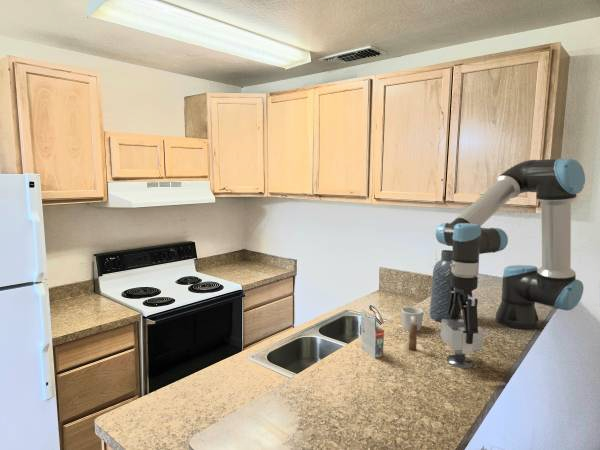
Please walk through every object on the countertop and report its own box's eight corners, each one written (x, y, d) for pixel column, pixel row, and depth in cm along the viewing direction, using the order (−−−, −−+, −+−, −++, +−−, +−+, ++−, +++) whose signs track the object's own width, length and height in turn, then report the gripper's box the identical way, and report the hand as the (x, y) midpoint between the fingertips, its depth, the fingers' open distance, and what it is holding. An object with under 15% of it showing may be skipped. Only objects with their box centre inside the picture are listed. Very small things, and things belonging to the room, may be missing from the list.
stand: (420, 346, 131) (421, 320, 130) (428, 357, 124) (429, 329, 122) (397, 346, 131) (398, 320, 130) (403, 357, 123) (404, 329, 122)
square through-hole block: (468, 337, 122) (469, 319, 121) (482, 349, 113) (483, 330, 113) (440, 337, 122) (441, 319, 121) (452, 349, 113) (453, 330, 112)
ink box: (369, 349, 130) (370, 307, 128) (383, 359, 123) (385, 315, 121) (360, 351, 128) (361, 309, 126) (374, 361, 121) (375, 317, 119)
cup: (424, 338, 138) (425, 317, 137) (401, 336, 140) (402, 315, 139) (421, 327, 149) (422, 307, 148) (400, 325, 150) (400, 305, 149)
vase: (431, 311, 166) (434, 247, 163) (461, 315, 161) (465, 249, 158) (427, 320, 156) (430, 252, 152) (460, 325, 150) (463, 255, 147)
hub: (466, 359, 122) (467, 333, 121) (477, 371, 115) (478, 344, 114) (442, 359, 122) (443, 334, 121) (452, 371, 115) (453, 344, 114)
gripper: (438, 266, 126) (435, 331, 129) (468, 284, 104) (463, 362, 107) (461, 266, 126) (457, 331, 129) (495, 284, 104) (489, 362, 107)
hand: (460, 345), depth 118 cm, fingers closed on square through-hole block, 9 cm apart
